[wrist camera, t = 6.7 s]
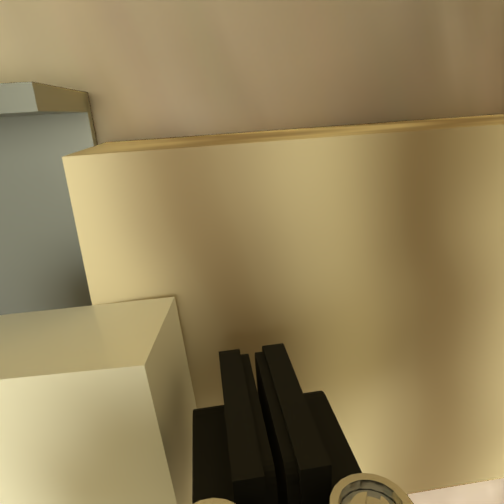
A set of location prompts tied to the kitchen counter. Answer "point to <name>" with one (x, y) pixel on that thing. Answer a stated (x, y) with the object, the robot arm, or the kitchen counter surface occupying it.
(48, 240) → the tray
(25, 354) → the cream square block
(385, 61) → the kitchen counter surface
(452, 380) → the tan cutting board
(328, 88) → the kitchen counter surface
